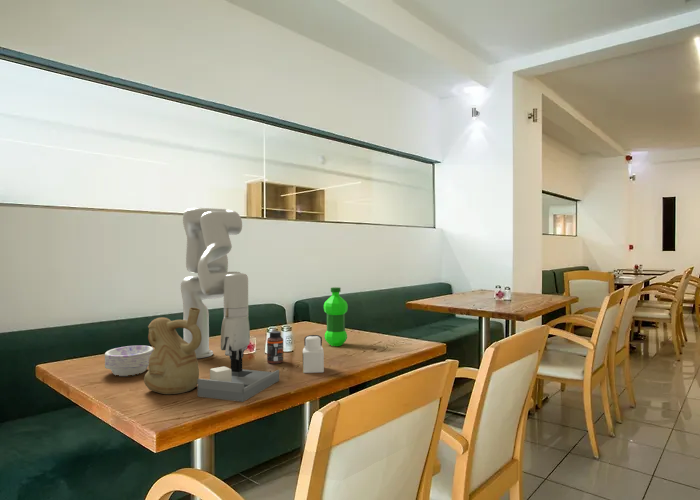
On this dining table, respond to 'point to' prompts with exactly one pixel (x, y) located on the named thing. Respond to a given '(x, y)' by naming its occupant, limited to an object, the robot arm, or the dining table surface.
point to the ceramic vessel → (173, 355)
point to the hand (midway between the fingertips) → (236, 371)
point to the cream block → (221, 374)
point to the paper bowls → (128, 360)
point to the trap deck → (238, 385)
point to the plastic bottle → (335, 318)
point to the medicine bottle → (313, 354)
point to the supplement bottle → (275, 348)
